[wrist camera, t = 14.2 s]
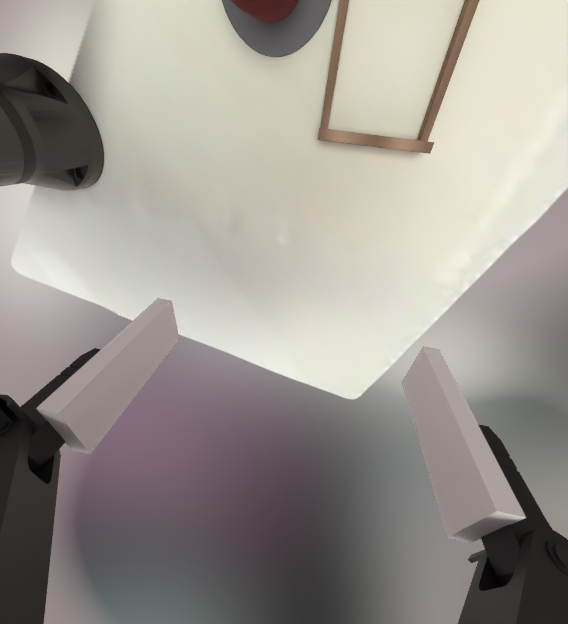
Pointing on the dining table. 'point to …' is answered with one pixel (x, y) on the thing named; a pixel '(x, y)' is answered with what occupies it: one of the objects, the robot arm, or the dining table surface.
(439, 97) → the wooden tray frame
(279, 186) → the dining table surface
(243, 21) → the coaster
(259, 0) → the mug
